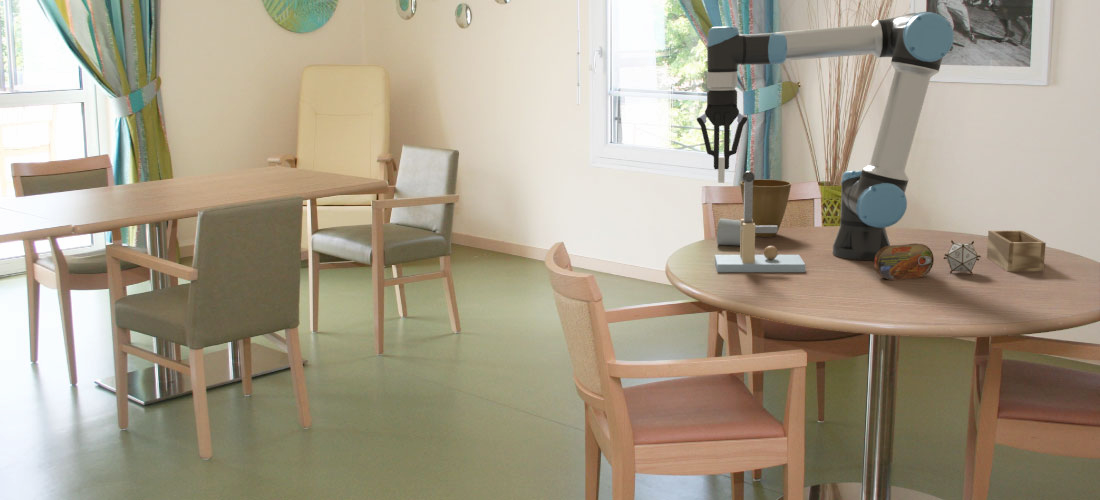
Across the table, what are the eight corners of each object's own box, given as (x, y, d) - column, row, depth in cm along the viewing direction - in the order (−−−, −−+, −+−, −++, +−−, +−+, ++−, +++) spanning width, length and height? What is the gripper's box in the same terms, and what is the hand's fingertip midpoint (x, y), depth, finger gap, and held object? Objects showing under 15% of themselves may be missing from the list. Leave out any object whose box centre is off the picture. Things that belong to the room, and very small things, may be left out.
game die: (964, 286, 258) (988, 253, 258) (967, 281, 250) (991, 248, 250) (933, 266, 261) (956, 234, 261) (934, 261, 253) (958, 227, 253)
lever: (776, 233, 267) (777, 170, 264) (777, 236, 264) (779, 171, 260) (740, 233, 268) (741, 170, 265) (741, 236, 265) (742, 172, 261)
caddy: (1020, 257, 272) (1022, 230, 271) (1043, 271, 256) (1045, 242, 254) (986, 257, 273) (988, 230, 272) (1007, 271, 257) (1009, 243, 255)
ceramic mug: (745, 248, 292) (745, 221, 290) (716, 246, 294) (716, 220, 293) (749, 241, 302) (750, 215, 300) (721, 240, 304) (722, 214, 303)
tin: (878, 281, 250) (879, 247, 248) (871, 278, 253) (872, 245, 251) (933, 277, 253) (935, 243, 251) (926, 274, 256) (928, 241, 254)
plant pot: (739, 239, 305) (740, 185, 301) (739, 230, 319) (740, 178, 316) (791, 239, 302) (792, 185, 299) (788, 230, 316) (789, 178, 313)
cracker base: (798, 262, 272) (799, 217, 270) (805, 272, 261) (806, 225, 258) (714, 262, 275) (715, 217, 272) (717, 272, 263) (717, 225, 261)
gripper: (747, 87, 263) (745, 179, 267) (695, 88, 264) (695, 180, 269) (749, 89, 255) (748, 183, 260) (696, 90, 257) (696, 184, 261)
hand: (721, 181), depth 264 cm, fingers closed
